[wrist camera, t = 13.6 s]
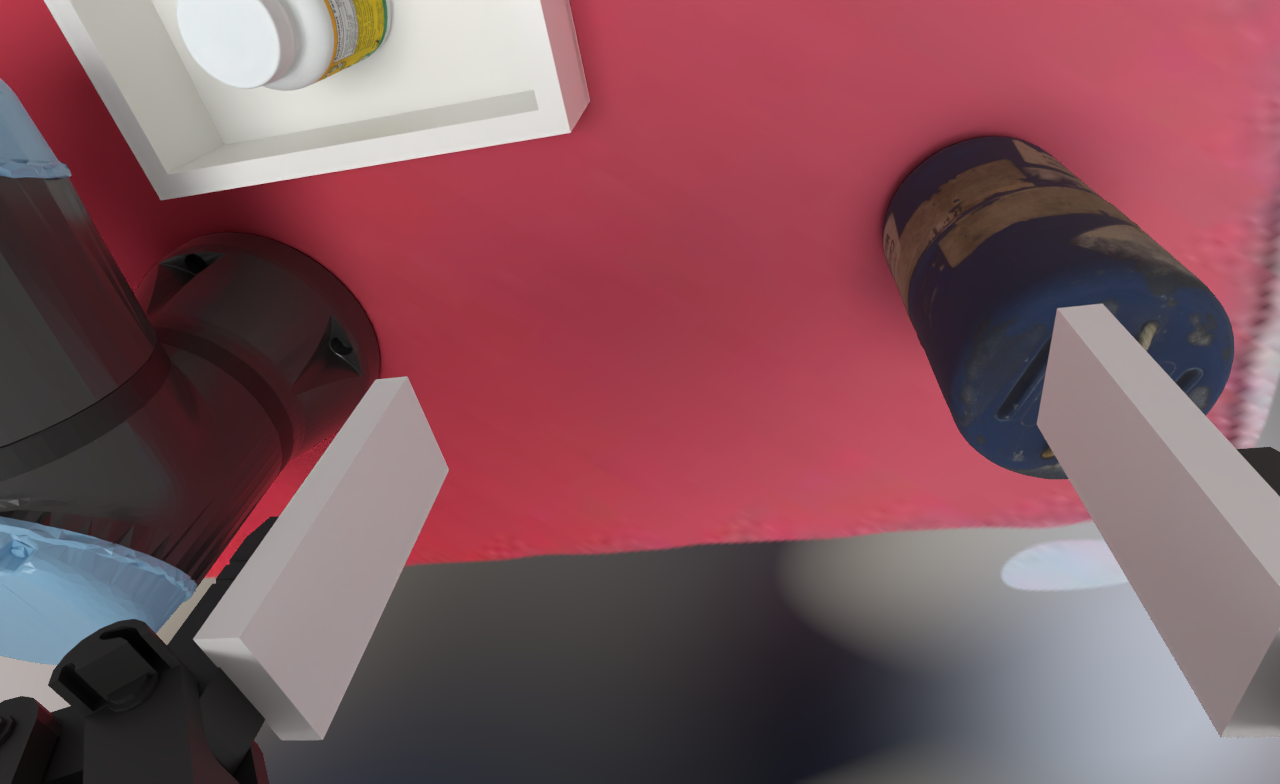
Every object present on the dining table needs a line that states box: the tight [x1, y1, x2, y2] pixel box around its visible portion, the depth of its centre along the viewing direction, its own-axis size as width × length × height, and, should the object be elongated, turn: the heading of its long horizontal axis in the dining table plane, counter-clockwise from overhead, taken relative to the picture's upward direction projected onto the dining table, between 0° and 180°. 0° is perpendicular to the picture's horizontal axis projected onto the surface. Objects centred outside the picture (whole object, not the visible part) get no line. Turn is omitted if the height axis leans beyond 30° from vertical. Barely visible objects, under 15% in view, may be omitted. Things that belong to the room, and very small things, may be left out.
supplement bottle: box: [176, 0, 391, 91], centre depth 31 cm, size 5×5×10 cm
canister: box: [883, 136, 1234, 479], centre depth 32 cm, size 10×10×18 cm
